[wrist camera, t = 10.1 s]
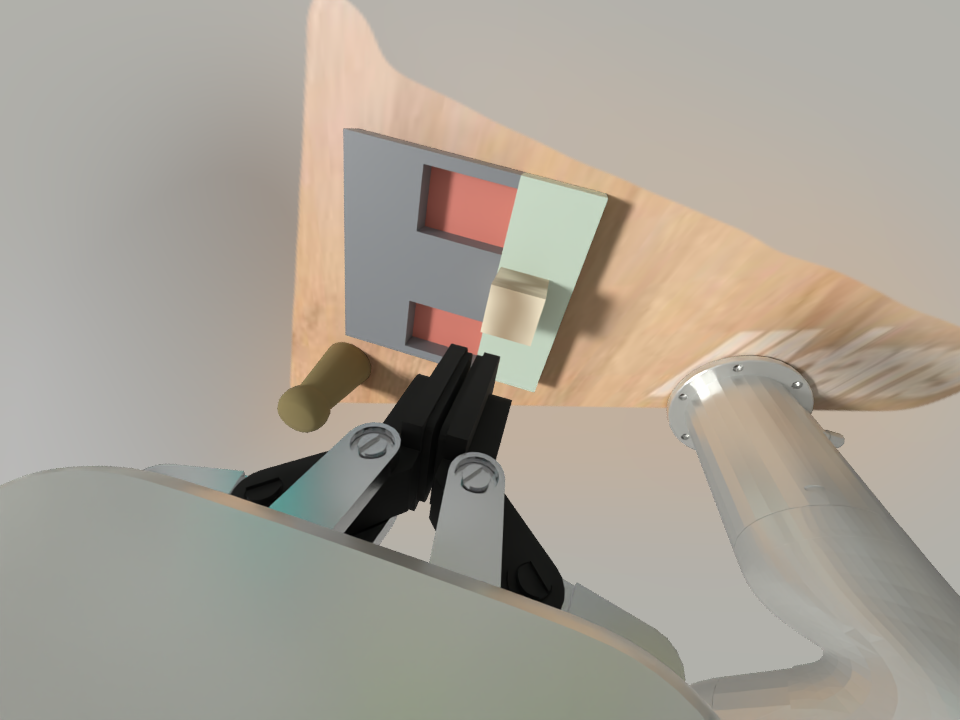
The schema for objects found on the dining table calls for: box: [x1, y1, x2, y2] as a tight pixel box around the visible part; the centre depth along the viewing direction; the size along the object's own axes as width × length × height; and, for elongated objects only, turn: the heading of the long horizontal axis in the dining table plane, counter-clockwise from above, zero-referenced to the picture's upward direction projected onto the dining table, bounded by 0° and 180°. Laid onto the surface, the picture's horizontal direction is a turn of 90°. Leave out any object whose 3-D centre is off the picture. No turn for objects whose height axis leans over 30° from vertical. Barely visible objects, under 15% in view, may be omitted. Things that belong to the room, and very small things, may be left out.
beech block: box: [481, 267, 549, 346], centre depth 32 cm, size 4×4×4 cm
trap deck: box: [343, 129, 608, 392], centre depth 35 cm, size 22×20×2 cm
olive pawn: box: [277, 342, 371, 433], centre depth 42 cm, size 6×6×11 cm
